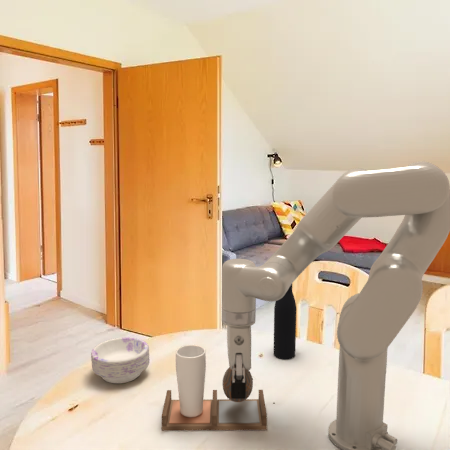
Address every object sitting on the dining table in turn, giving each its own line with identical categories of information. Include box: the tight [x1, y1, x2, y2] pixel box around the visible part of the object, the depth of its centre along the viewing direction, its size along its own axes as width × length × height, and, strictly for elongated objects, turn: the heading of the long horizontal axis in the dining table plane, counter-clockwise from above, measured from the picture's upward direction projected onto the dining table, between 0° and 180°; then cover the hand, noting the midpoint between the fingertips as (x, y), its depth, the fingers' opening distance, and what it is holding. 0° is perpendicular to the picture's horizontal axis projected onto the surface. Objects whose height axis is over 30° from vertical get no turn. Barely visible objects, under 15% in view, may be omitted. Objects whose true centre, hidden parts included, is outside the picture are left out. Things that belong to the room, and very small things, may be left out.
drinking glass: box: [175, 344, 207, 417], centre depth 110 cm, size 7×7×15 cm
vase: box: [222, 365, 254, 402], centre depth 111 cm, size 7×7×9 cm
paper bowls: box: [90, 336, 150, 384], centre depth 131 cm, size 15×15×8 cm
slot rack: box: [161, 389, 268, 432], centre depth 112 cm, size 23×11×4 cm, turn 90°
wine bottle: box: [273, 283, 297, 360], centre depth 141 cm, size 6×6×30 cm
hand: (237, 388), depth 111 cm, fingers closed on vase, 6 cm apart
